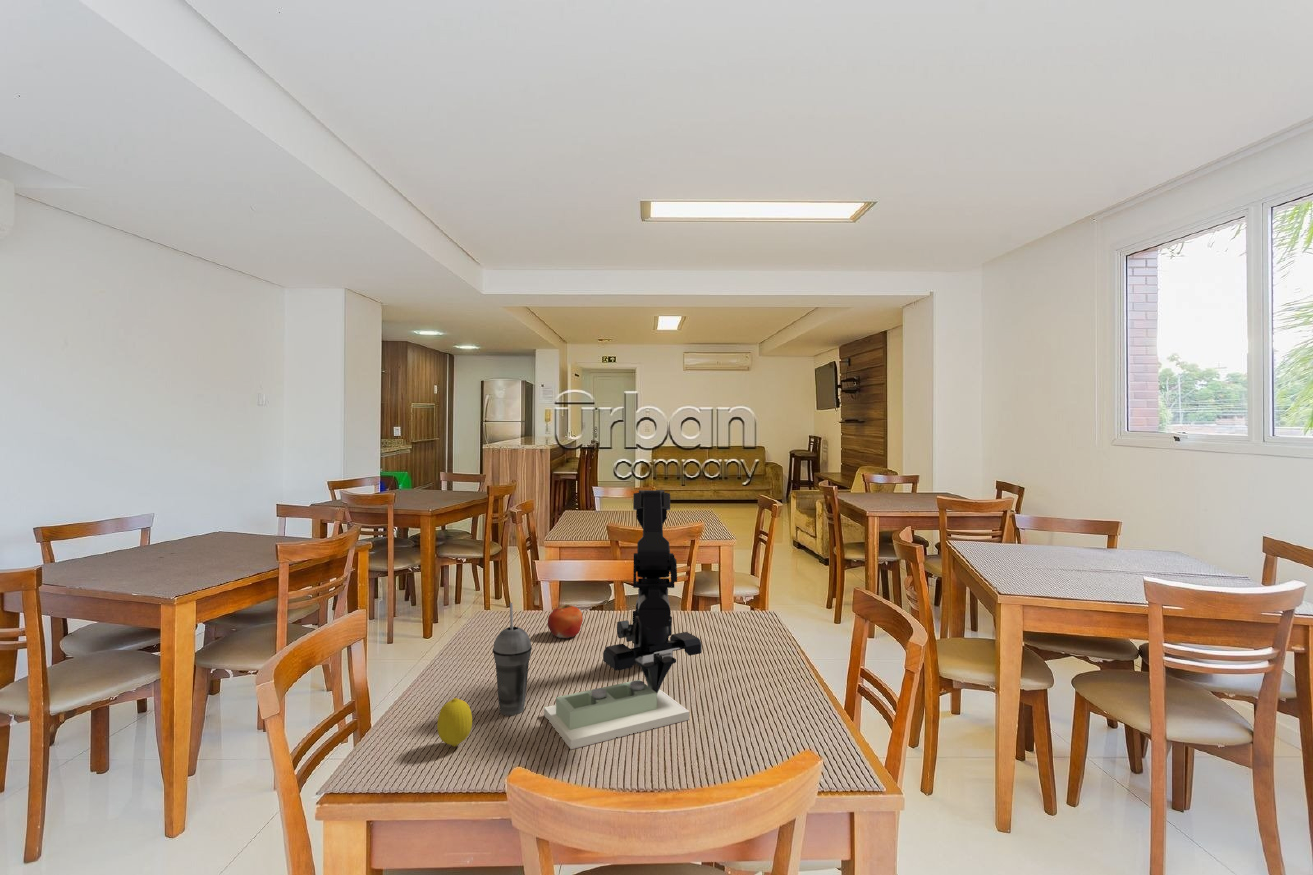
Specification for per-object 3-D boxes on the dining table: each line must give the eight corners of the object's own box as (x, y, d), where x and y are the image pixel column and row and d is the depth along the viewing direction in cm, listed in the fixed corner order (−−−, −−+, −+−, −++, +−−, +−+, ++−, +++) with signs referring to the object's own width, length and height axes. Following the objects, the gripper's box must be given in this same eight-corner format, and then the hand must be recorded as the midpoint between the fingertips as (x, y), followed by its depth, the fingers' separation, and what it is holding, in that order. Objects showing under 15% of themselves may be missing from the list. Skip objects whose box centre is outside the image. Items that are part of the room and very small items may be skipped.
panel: (639, 695, 117) (639, 679, 117) (656, 709, 111) (656, 692, 111) (555, 713, 109) (556, 697, 109) (569, 730, 103) (569, 712, 103)
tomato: (580, 641, 153) (580, 610, 153) (544, 641, 153) (544, 610, 153) (585, 630, 162) (585, 600, 162) (551, 630, 162) (551, 600, 162)
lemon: (442, 738, 103) (442, 691, 103) (475, 737, 103) (475, 691, 103) (432, 755, 97) (433, 706, 97) (467, 754, 98) (468, 705, 98)
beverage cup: (496, 722, 109) (497, 611, 109) (488, 706, 115) (489, 601, 115) (536, 714, 112) (536, 606, 112) (525, 699, 119) (526, 597, 119)
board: (653, 691, 123) (653, 664, 123) (689, 719, 110) (689, 689, 110) (544, 715, 112) (544, 685, 112) (570, 749, 99) (571, 716, 99)
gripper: (673, 597, 126) (674, 671, 126) (591, 609, 117) (591, 689, 117) (703, 610, 117) (703, 690, 116) (615, 625, 107) (616, 712, 107)
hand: (653, 695), depth 115 cm, fingers closed
